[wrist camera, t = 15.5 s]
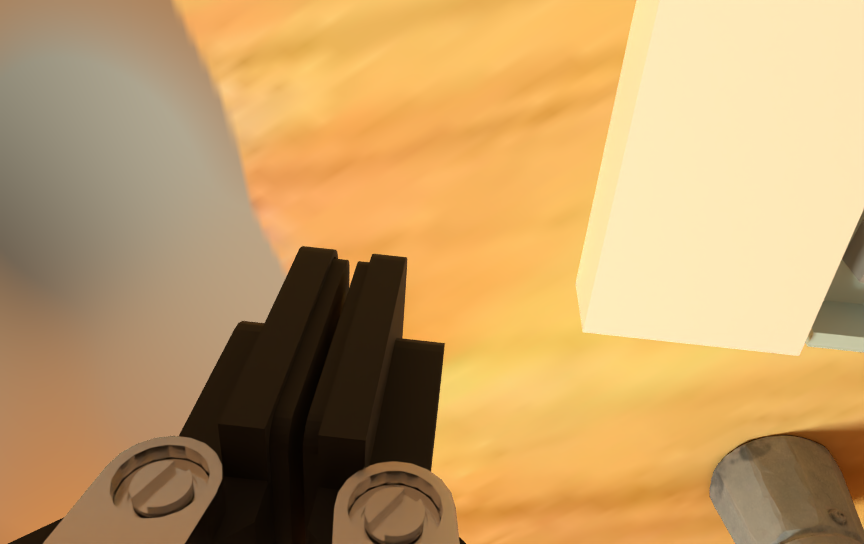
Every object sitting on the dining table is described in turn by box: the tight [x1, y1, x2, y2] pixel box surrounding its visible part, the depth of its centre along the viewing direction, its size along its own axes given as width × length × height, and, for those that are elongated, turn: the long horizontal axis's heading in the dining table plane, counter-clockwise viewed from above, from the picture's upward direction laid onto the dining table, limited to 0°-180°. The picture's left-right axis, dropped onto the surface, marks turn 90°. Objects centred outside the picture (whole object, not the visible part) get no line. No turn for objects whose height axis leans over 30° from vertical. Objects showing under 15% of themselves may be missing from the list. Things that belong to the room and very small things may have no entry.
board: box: [576, 0, 864, 356], centre depth 36 cm, size 26×12×5 cm, turn 176°
